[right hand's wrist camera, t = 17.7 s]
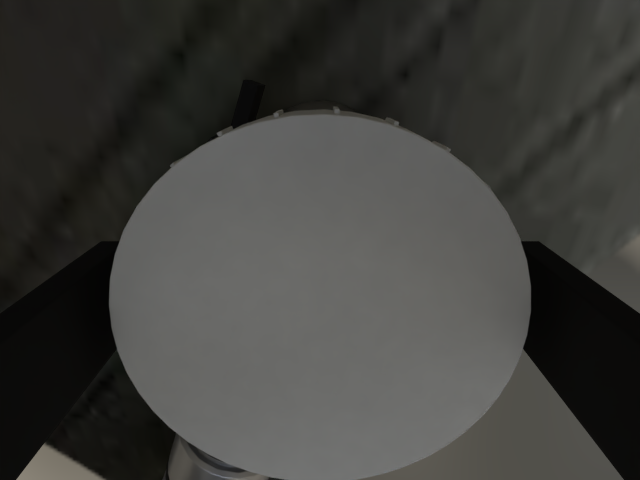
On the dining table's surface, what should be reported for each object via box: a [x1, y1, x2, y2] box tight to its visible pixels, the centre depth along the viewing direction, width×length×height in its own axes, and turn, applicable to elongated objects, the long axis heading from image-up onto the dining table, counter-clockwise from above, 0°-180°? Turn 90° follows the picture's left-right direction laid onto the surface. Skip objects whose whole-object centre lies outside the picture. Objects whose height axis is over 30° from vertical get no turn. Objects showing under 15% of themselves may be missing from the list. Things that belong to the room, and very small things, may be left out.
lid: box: [109, 106, 531, 480], centre depth 11 cm, size 11×11×2 cm
